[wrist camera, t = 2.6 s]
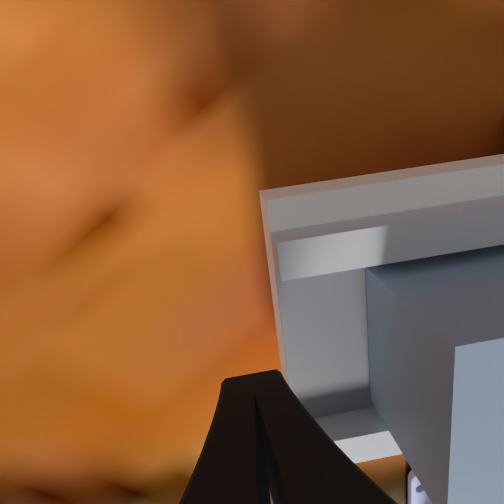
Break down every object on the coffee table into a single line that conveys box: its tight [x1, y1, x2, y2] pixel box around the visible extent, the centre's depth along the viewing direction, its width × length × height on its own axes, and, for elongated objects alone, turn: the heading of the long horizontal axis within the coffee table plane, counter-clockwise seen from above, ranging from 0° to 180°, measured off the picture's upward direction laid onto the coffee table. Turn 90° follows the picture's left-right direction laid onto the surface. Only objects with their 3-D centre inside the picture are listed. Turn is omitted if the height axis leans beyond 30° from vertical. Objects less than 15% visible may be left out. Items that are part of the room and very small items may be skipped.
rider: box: [366, 244, 504, 504], centre depth 9 cm, size 4×5×4 cm
